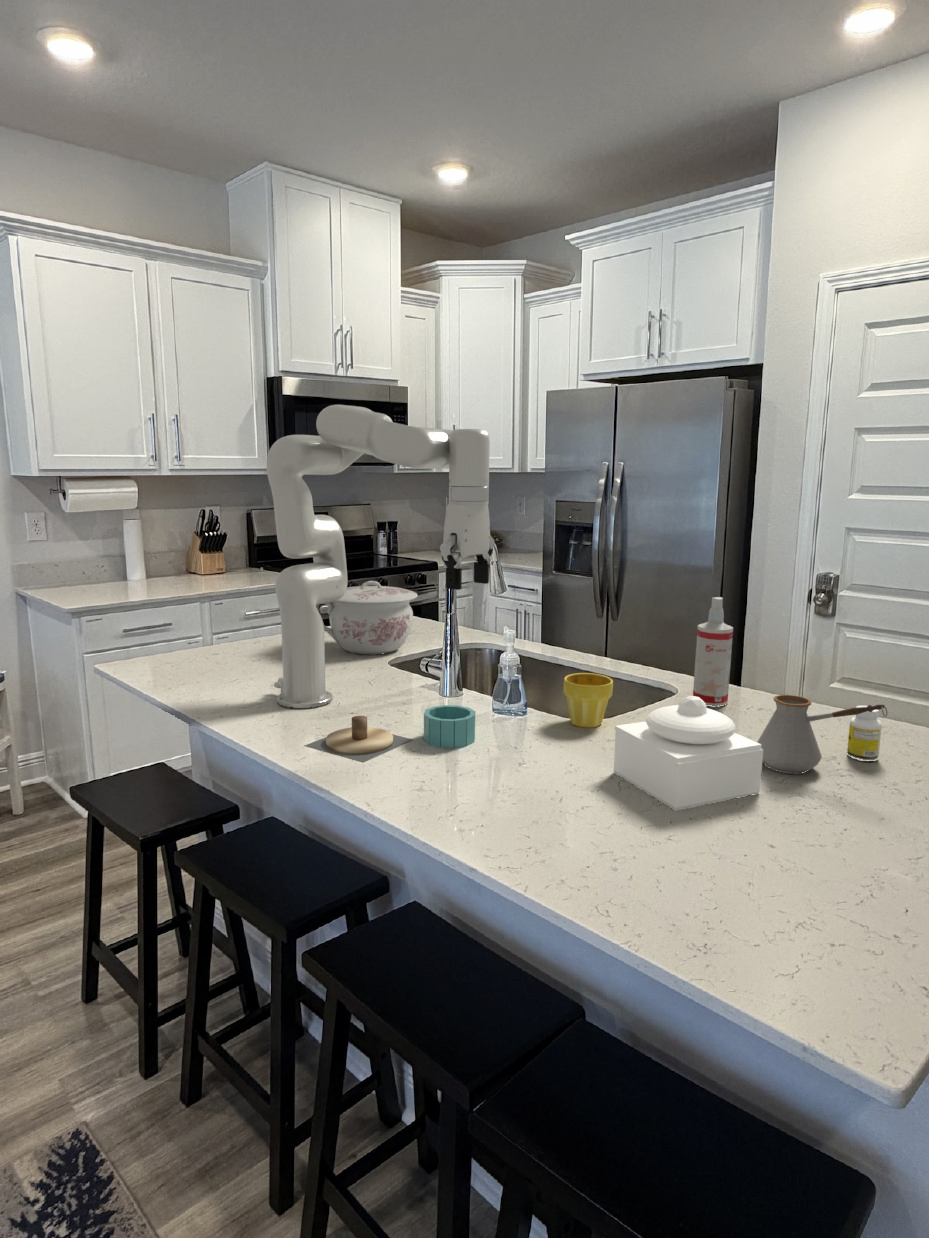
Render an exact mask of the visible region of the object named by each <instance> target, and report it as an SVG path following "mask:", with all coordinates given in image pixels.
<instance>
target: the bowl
mask: <svg viewBox="0 0 929 1238" xmlns="http://www.w3.org/2000/svg"><path fill="white" fill-rule="evenodd" d="M475 740H476V711H475V710H474V709H473V708H470V707H467V706H463V705H457V704H456V705H455V704H454V705H452V704H451V705H450V704H446V705H445V704H443V705H437V706H436V705H435V706H432V707H429V708H426V709H425V710H424V712H423V741H424V742H425V743H426V744H427V745H429V746H432V747H436V748H441V749H457V748H465V747H469V746H470V745H472V744H474V743H475V742H476V741H475Z"/></svg>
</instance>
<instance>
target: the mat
mask: <svg viewBox="0 0 929 1238" xmlns="http://www.w3.org/2000/svg"><path fill="white" fill-rule="evenodd" d="M350 728H352V726H351V727H350ZM391 734H392V735H393V744H392V745H391V746H390V747H389V748H387V749H385V750H383V751H379V752H375V753H369V754H344V753H339V752H335V751H332V750H330V749H329V748H328V747H327V746H326V737H327V736H325V737H323V738H320V739H318V740H315V741H313V742H310V743H307V744H304V745H303V746H304V747H307V748H310V749H315V750H318V751H320V752H321V751H322V752H325V753H328V754H332V755H336V756H339V757H343V758H346V759H350V760H354V761H357V762H361V763H365V762H367V761H370V760H372V759H374V758H377V757H379V756H381V755H383V754H385V753H388V752H390V751H392V750H394V749H396V748H399V747H402V746H404V745H405V744H407V743H410V742H412V741H414V739H413V738H409V737H404V736H402V735H396V734H393V733H391Z"/></svg>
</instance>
